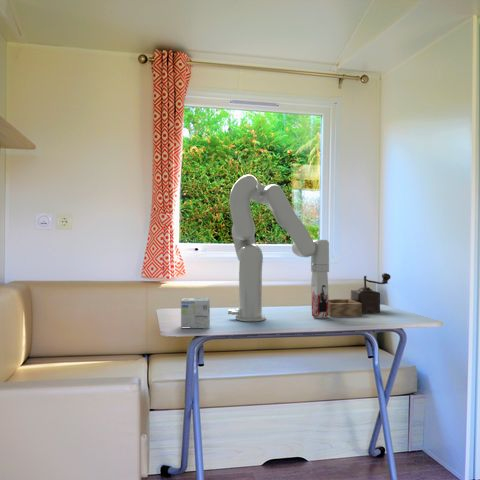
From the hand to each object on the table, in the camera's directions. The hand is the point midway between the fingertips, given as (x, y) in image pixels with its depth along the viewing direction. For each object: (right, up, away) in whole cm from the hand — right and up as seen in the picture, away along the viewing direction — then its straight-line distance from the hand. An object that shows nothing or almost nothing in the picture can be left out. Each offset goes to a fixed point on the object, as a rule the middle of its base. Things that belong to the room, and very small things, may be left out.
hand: (320, 309), depth 177 cm
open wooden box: (+11, -3, +9) cm, 15 cm away
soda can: (0, -4, 0) cm, 4 cm away
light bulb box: (-51, -4, -19) cm, 55 cm away
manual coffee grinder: (+26, -4, +15) cm, 31 cm away
